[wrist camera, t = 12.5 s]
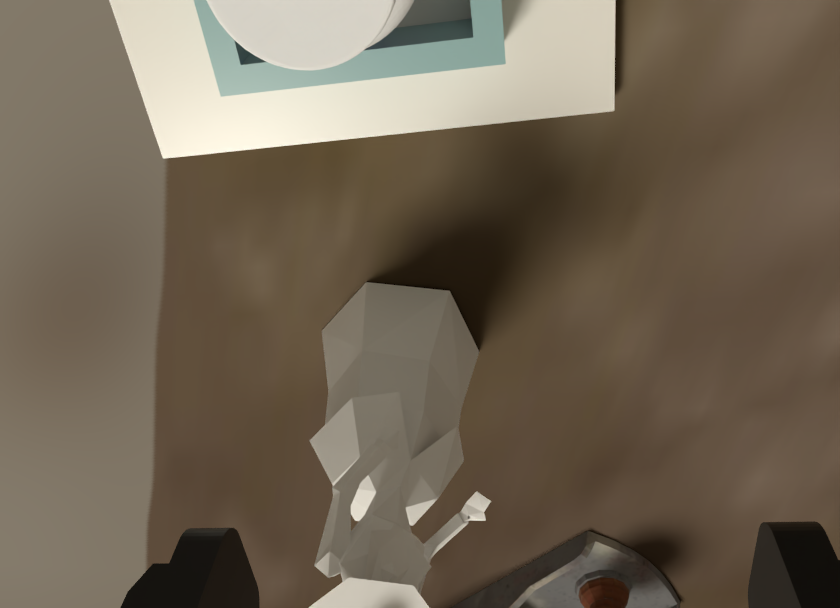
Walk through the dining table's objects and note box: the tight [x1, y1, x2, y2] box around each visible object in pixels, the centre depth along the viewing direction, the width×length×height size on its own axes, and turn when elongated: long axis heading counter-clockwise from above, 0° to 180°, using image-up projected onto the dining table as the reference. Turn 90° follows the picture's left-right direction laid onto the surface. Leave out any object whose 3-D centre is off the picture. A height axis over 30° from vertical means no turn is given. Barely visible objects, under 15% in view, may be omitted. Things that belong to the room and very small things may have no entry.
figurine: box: [309, 282, 491, 608], centre depth 30 cm, size 7×8×18 cm
